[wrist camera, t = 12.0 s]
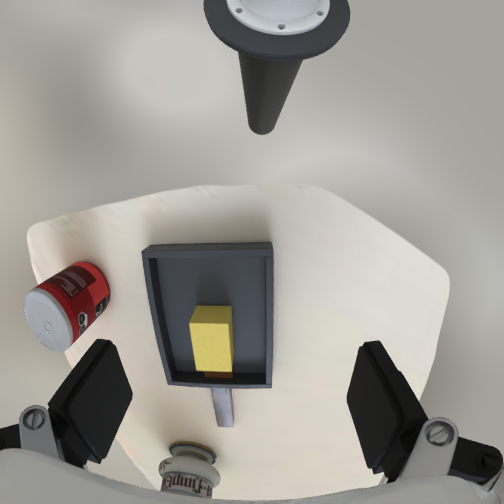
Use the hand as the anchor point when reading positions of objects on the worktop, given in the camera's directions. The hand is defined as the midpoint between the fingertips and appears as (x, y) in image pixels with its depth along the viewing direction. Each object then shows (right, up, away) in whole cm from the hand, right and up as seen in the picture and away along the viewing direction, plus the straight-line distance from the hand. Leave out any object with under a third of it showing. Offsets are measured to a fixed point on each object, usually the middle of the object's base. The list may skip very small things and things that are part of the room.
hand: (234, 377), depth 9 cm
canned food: (-22, 0, +25) cm, 33 cm away
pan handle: (-4, -19, +29) cm, 35 cm away
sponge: (-4, -5, +25) cm, 26 cm away
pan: (-4, -4, +25) cm, 26 cm away
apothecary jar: (-11, -37, +35) cm, 52 cm away
